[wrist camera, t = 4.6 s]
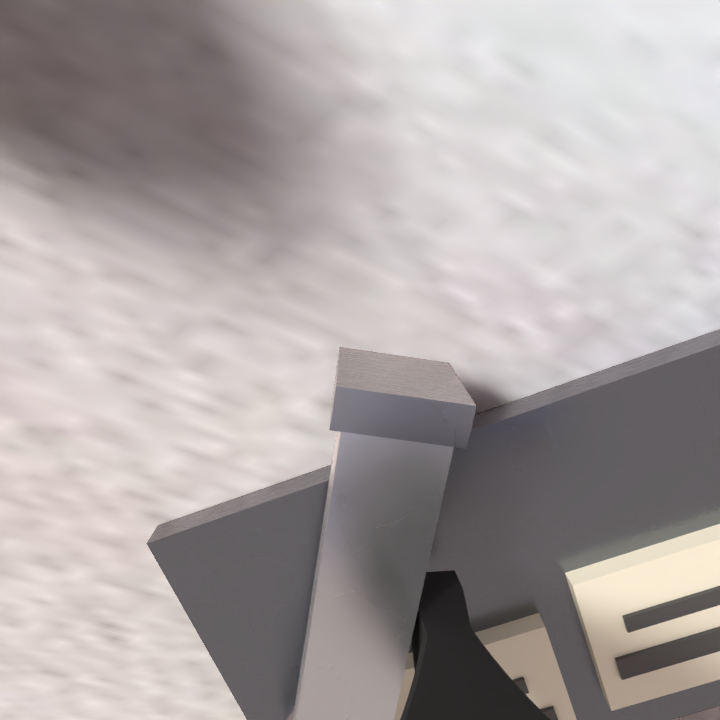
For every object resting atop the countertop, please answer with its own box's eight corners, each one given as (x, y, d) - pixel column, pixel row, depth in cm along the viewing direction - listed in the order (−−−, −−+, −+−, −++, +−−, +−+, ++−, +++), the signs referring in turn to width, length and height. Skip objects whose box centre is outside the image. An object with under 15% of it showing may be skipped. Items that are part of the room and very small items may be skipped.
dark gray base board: (817, 295, 13) (872, 305, 12) (863, 635, 16) (910, 675, 14) (157, 525, 14) (137, 558, 13) (308, 797, 17) (305, 846, 16)
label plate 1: (538, 612, 14) (546, 629, 14) (578, 729, 16) (587, 748, 15) (368, 665, 15) (369, 684, 14) (419, 775, 16) (422, 796, 15)
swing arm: (364, 805, 15) (366, 935, 12) (266, 795, 15) (247, 925, 12) (457, 364, 11) (490, 411, 9) (330, 345, 11) (323, 388, 9)
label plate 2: (750, 513, 14) (768, 527, 13) (775, 644, 15) (793, 662, 14) (564, 572, 14) (573, 588, 13) (603, 695, 15) (613, 714, 15)
